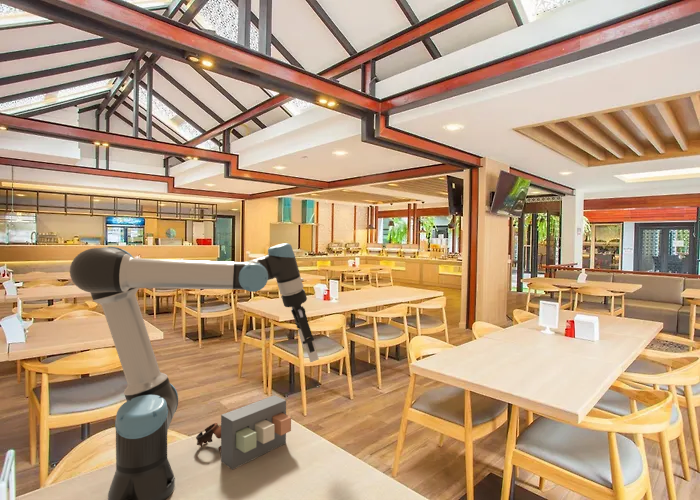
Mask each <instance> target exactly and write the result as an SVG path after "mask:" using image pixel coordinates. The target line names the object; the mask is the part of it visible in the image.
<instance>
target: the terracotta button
mask: <svg viewBox="0 0 700 500" xmlns="http://www.w3.org/2000/svg"><path fill="white" fill-rule="evenodd" d="M272 423H273V424H274V432H275V433H277V434H279V435H284V434H286V435H287V434H288V433H290V432H291V431H292V417H291V416H289V415H287V413H286V414H283V413H279V414H276V415H274V416H272Z"/></svg>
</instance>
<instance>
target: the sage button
mask: <svg viewBox="0 0 700 500" xmlns="http://www.w3.org/2000/svg"><path fill="white" fill-rule="evenodd" d="M236 448H237V449H239V450H241V451H242V452H244V453H245V452H248V451H250V450H252V449H254V448H256V432H255V431H253V430H251V429H250V428H248V427H245V428H243V429H240V430H238V431H236Z"/></svg>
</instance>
